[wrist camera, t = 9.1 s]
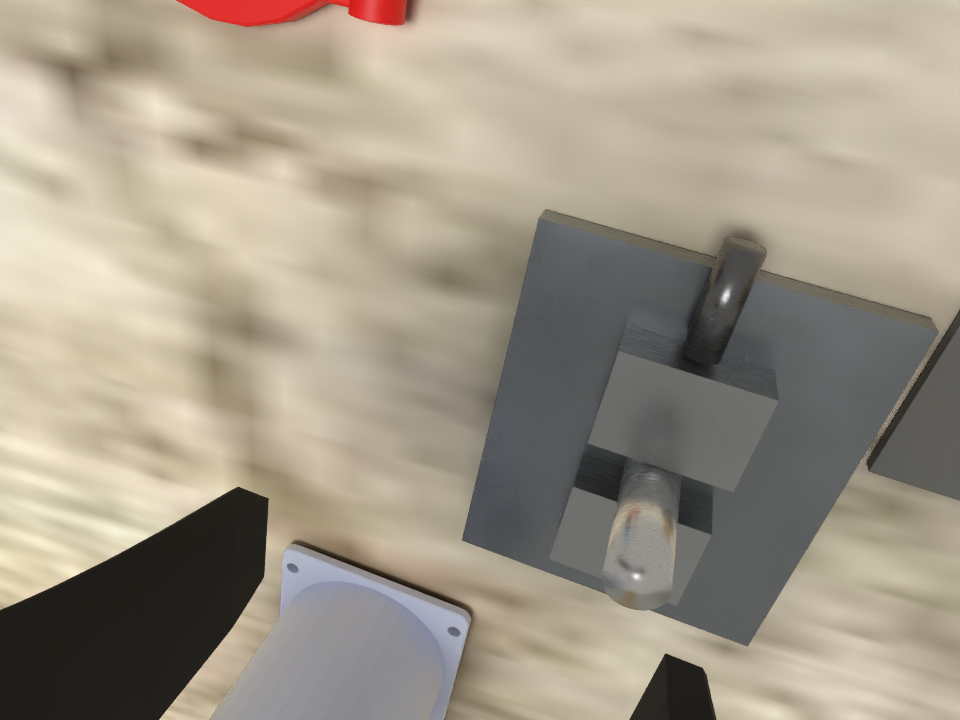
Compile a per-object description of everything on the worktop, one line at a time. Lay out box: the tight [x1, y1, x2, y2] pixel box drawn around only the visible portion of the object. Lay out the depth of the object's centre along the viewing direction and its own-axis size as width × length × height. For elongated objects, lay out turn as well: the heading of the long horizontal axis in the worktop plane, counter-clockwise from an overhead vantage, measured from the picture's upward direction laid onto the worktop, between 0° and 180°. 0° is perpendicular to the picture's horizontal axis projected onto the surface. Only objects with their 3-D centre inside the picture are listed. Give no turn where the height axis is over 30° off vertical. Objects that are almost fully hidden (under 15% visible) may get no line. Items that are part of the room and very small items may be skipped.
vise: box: [462, 210, 939, 646], centre depth 18 cm, size 13×10×6 cm
